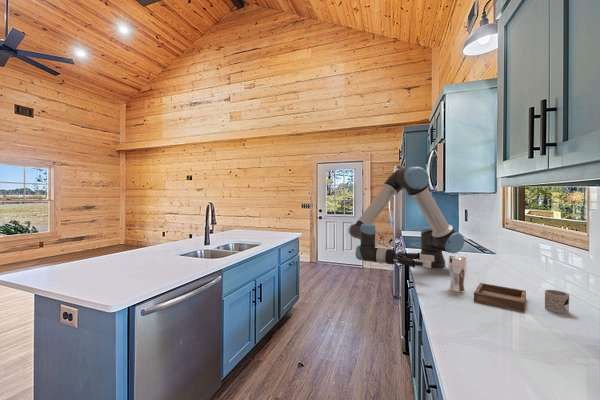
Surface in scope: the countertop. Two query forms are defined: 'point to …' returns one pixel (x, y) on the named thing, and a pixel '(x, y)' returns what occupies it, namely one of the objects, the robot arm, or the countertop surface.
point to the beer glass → (457, 273)
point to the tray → (500, 296)
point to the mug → (557, 301)
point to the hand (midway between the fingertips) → (432, 261)
